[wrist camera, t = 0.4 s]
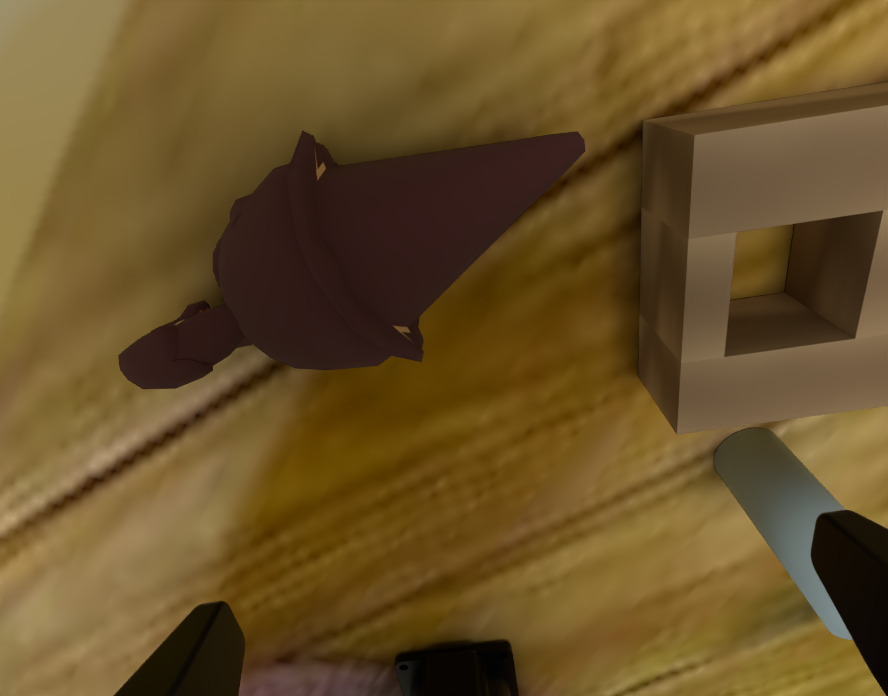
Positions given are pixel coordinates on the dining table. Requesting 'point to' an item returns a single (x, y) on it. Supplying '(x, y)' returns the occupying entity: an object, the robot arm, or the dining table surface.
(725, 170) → the socket block
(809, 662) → the dining table surface
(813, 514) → the dowel
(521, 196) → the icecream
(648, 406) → the dining table surface
